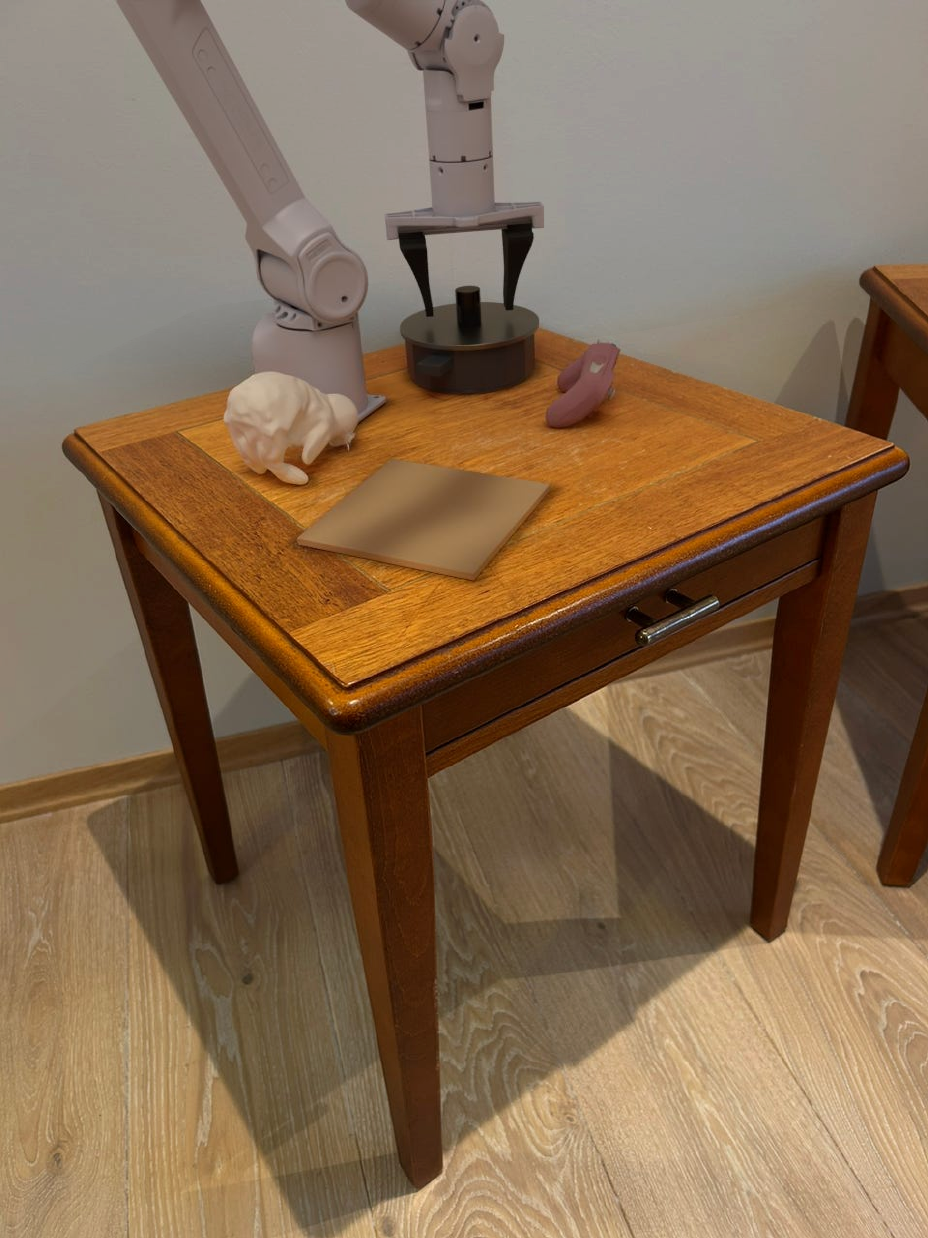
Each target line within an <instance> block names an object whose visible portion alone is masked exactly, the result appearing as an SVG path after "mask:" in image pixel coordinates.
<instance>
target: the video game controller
mask: <svg viewBox="0 0 928 1238" xmlns="http://www.w3.org/2000/svg"><path fill="white" fill-rule="evenodd" d="M620 353H621V348H619V347H618V346H617V344H615V343H614V342H613V343H611V342H609V341H606V342H602V341H601V340H600V339H599V338H598V339H597V341H596V343H593V344H591V345H590V346H589V347H588V348H587V349H586V350H585V351H584V352H583V354H581V355H580V356H579V357H578V358H576V359H575V360H574V361H573V362H571V363H569V364H568V365H566V366H565V367H564V368H563V369H562V370H561V372H560V373H559V375H558V376H557V381H556V382H557V383H556V384H557V388H558V389H559V390H560V391H561V392H564V393H563V394H561V396H559V397H558V398H556V399H555V400H554V401H552V403H551V404H549V406H548V407H547V409H546V411H545V416H544V418H545V422H546V423H547V425H548V426H549V427H552V428H553V429H555V428H565V427H569V426H572V425H574V424H576V423H578V422H580V421H581V420H583V419H585V418H588V419H590V418H591V416H592V415H593V414H594V412H595V410H597V409H599V407H600V406H601V404H602V403H603V401H605V400H606V399H607V401H608V402H609V401H611V400H612V399H613V398H614V397H615V396H616V387H613V381H614V378H615V375H616V374H615V373H616V372H614V369H615V367H616V364H617V360H618V358H619V356H620ZM612 388H613V389H612Z"/></svg>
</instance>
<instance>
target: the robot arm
mask: <svg viewBox="0 0 928 1238" xmlns="http://www.w3.org/2000/svg"><path fill="white" fill-rule="evenodd" d="M115 1H116V4H117V6H118V7H119V9H120V11H121V12H122V14H123V16H124V17H125V19H126V21H127V22H128V25H129V26H130V27H131V29H132V31H133V33H134V34H135V36H136V38H137V39H138V41H139V43H140V45H141V47H142V48H143V50H144V52H145V53H146V55H147V57H148V58H149V59H150V61H151V63H152V64H153V67H154V68H155V70H156V71H157V73H158V75H159V77H160V79H161V80H162V82H163V84H164V85H165V87H166V89H167V90H168V93H169V94H170V95H171V97H172V99H173V101H174V102H175V104H176V105H177V107H178V109H179V110H180V112H181V115H183V118H184V119H185V121H186V122H187V124H188V126H189V128H190V129H191V131H192V133H193V134H194V136H195V138H196V139H197V142H198V143H199V145H200V146H201V149H203V152H204V153H205V154H206V156H207V158H208V160H209V161H210V163H211V165H212V167H213V168H214V170H215V172H216V173H217V175H218V177H219V178H220V180H221V182H222V184H223V185H224V187H225V188H226V190H227V192H228V194H229V196H230V197H231V199H232V200H233V202H234V204H235V205H236V207H237V209H238V210H239V213H240V214H241V216H242V217H243V219H244V221H245V223H246V227H245V233H244V234H245V235H244V238H245V241H246V243H247V244H248V247H249V249H250V250H251V252H252V255H253V258H254V264H255V271H256V272H255V273H256V276H257V280H258V283H259V285H260V287H261V288H262V290H263V291H264V293H265V294H267V295H268V296H269V297H270V298H272V299H273V302H274V303H273V304H274V311H273V312H269V313H266V314H264V315H263V316H262V317H261V318H260V319H259V320H258V321H257V323H256V325H255V327H254V329H253V331H252V332H253V333H252V338H251V354H252V355H251V356H252V361H253V368H254V372H255V373H254V374H258V373H262V372H278V373H282V374H285V375H290V376H293V377H296V378H299V379H301V380H303V381H305V382H307V383H308V384H309V385H310V386H312V387H314V388H316V389H318V390H319V391H320V392H321V393H324V394H326V395H327V394H341V395H344V396H346V397H348V398H349V399H350V400H351V401H352V402H353V404H354V405H355V407H356V409H357V412H358V423H360V422H361V421H362V420H364V419H365V418H367V417H368V416H369V415H371V414H372V413H374V412H375V411H377V409H379V408H380V407H381V406H383V405H384V404H386V402H387V397H386V396H384V395H379V394H378V395H377V394H370V393H368V390H367V382H366V381H367V380H366V372H365V364H364V355H363V347H362V346H363V345H362V338H361V337H362V336H361V329H360V321H359V320H360V318H359V311H360V309H361V308H362V306H363V305H364V303H365V300H366V298H367V296H368V291H369V274H368V271H367V267H366V264H365V262H364V261H363V259H362V258H361V256H360V255H359V254H358V253H357V252H356V251H355V250H353V249H352V248H350V247H349V246H347V245H346V244H345V243H344V242H343V241H342V240H341V238H340V237H339V235H338V234H337V233H336V230H335V228H334V227H333V225H332V224H331V223H330V222H329V220H327V218H326V217H325V216H324V215H323V214H322V213H321V212H320V211H319V210H318V209H317V208H316V207H315V206H314V205H313V204H312V203H311V202H310V200H308V199H307V197H306V196H305V193H304V192H303V190H302V188H301V186H300V185H299V183H298V181H297V179H296V176H295V175H294V173H293V171H292V170H291V168H290V166H289V163H288V162H287V159H286V158H285V156H284V154H283V152H282V151H281V149H280V147H279V145H278V143H277V142H276V141H277V140H276V139H275V138H274V136H273V134H272V132H271V130H270V128H269V127H268V125H267V122H266V121H265V119H264V117H263V115H262V113H261V111H260V109H259V108H258V106H257V104H256V102H255V100H254V98H253V96H252V94H251V93H250V91H249V88H248V87H247V85H246V83H245V81H244V80H243V78H242V75H241V74H240V72H239V70H238V68H237V66H236V64H235V62H234V61H233V59H232V57H231V55H230V53H229V52H228V49H227V48H226V46H225V44H224V42H223V40H222V38H221V36H220V34H219V32H218V31H217V28H216V26H215V25H214V23H213V21H212V19H211V17H210V16H209V14H208V12H207V10H206V8H205V6H204V4H203V2H202V0H115ZM344 2H345V5H346V7H347V8H348V9H349V11H352V13H354V14H355V15H357V17H360V18H361V19H362V20H364V21H365V22H367V23H368V24H370V25H371V26H372V27H374V28H375V29H377V30H378V31H379V32H381V33H382V34H384V35H385V36H387V37H388V38H389V39H391V41H393V42H394V43H396V44H398V45H399V46H401V48H403V49H405V50H406V51H407V55H408V58H409V59H410V61H411V63H412V65H413V66H414V68H415V69H416V71H419V72H422V77H423V91H424V92H423V93H424V105H425V106H424V107H425V120H426V134H427V147H428V162H429V164H428V165H429V177H430V178H429V181H430V193H431V204H432V206H431V207H424V208H418V209H411V210H405V211H400V212H399V211H397V212H387V213H384V225H385V233H386V240H387V241H392V240H398V245H399V249H400V252H401V254H402V256H403V258H404V259H405V262H406V263H407V265H408V266H409V269H410V271H411V273H412V275H413V277H414V279H415V282H416V284H417V287H418V289H419V292H420V295H421V298H422V301H423V305H424V310H425V312H426V317H433V316H434V314H433V307H434V304H433V297H432V292H431V291H432V290H431V286H430V274H429V273H430V272H429V258H428V257H429V255H428V247H427V238H426V236H434V235H446V234H448V235H449V234H458V233H459V234H461V233H471V232H484V231H497V230H501V241H502V242H501V243H502V258H503V279H502V281H503V286H502V300H503V303H504V306H505V309H506V311H507V310H513V305H515V304H514V303H515V297H516V292H517V288H518V283H519V280H520V276H521V272H522V270H523V267H524V264H525V261H526V259H527V258H528V255H529V252H530V250H531V248H532V246H533V243H534V238H535V236H534V234H535V233H534V232H533V229H543V228H545V206H544V205H543V203H542V202H541V201H530V202H529V201H528V202H495V199H496V198H495V178H494V177H495V175H494V174H495V173H494V148H493V147H494V143H493V119H492V118H493V117H492V92H494V91H495V80H494V79H495V71H496V69H497V66H498V65H499V63H500V61H501V58H502V55H503V52H504V46H505V34H503V33H501V32H500V30H499V29H500V28H499V25H498V23H497V19H496V17H495V16H494V13H493V11H492V9H491V8H490V7H489V6H488V5H487V4H486V3H485V2H484V1H482V0H344Z"/></svg>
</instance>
